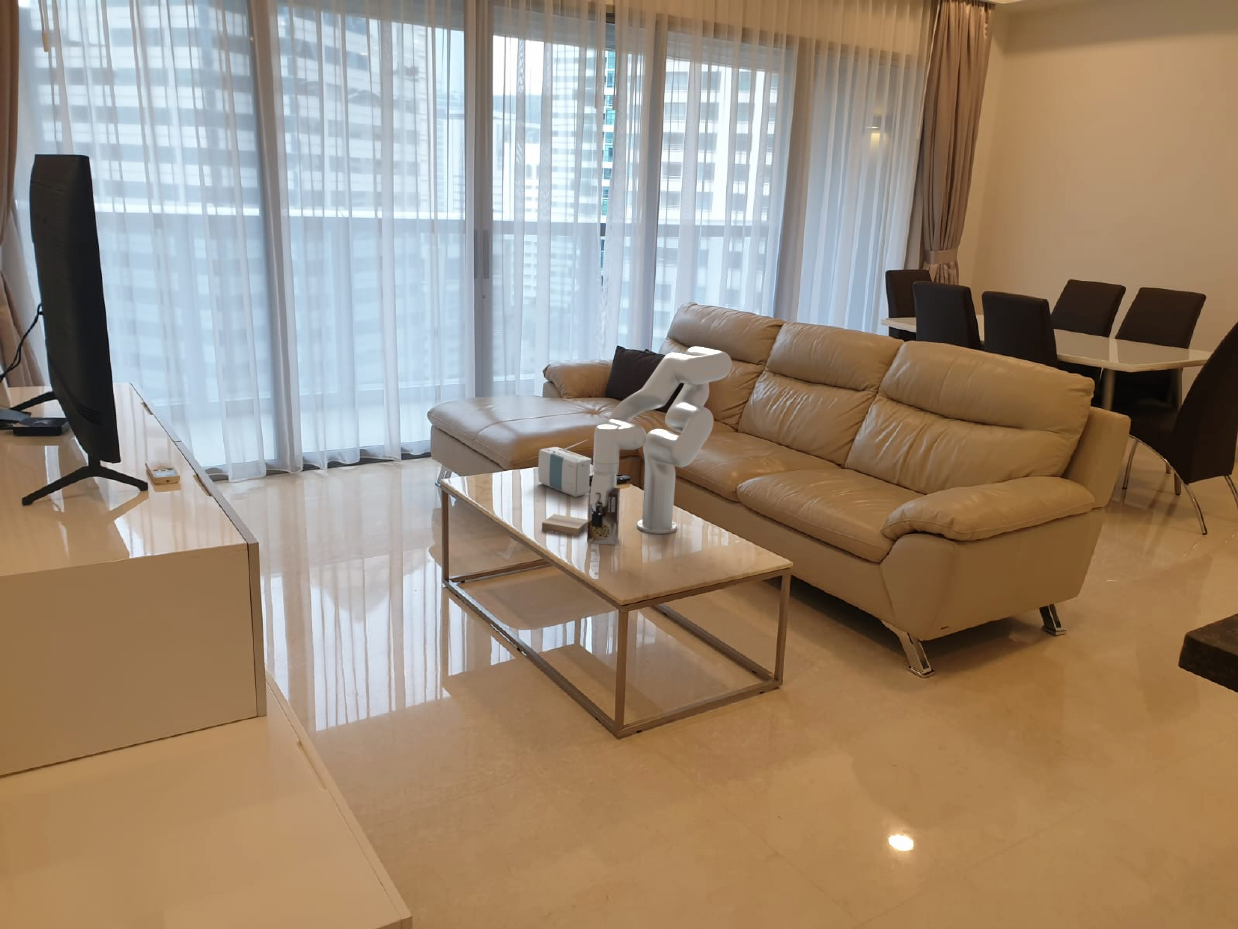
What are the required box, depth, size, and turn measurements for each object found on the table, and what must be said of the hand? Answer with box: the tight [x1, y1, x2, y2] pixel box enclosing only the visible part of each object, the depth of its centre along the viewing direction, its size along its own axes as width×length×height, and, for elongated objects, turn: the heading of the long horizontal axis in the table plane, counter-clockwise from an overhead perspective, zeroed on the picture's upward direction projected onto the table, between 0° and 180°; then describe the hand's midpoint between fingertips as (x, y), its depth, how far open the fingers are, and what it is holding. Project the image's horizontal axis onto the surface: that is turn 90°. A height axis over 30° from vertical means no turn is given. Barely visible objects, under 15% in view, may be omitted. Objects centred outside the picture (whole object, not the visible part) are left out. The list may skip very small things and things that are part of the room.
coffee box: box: [586, 487, 621, 546], centre depth 269 cm, size 9×6×16 cm
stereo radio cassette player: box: [537, 438, 593, 498], centre depth 317 cm, size 21×8×20 cm, turn 42°
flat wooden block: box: [541, 513, 588, 537], centre depth 280 cm, size 9×12×2 cm
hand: (602, 522), depth 270 cm, fingers open, 9 cm apart
